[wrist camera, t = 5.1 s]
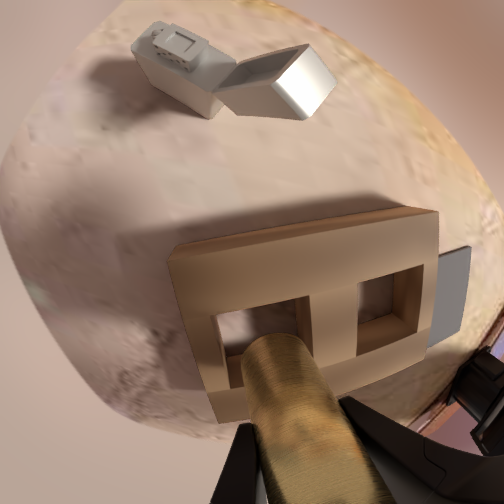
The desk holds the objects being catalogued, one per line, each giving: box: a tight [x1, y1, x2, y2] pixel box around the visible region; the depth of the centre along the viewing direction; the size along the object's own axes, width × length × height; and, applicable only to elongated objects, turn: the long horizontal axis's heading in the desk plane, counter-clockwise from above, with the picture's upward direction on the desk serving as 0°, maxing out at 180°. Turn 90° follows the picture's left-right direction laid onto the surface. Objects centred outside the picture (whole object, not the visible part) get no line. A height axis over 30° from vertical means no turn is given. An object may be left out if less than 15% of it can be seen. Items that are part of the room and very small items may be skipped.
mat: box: [427, 246, 472, 348], centre depth 17 cm, size 8×7×1 cm
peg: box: [241, 333, 397, 504], centre depth 6 cm, size 3×3×10 cm
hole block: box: [167, 206, 439, 424], centre depth 14 cm, size 10×14×3 cm
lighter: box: [131, 21, 337, 121], centre depth 8 cm, size 7×2×8 cm, turn 54°
